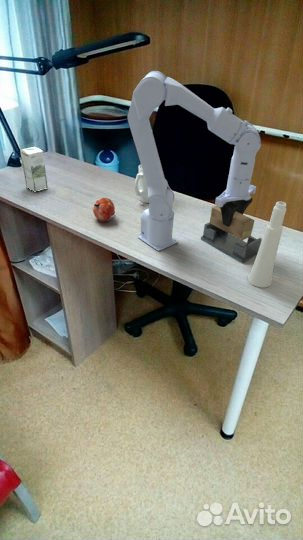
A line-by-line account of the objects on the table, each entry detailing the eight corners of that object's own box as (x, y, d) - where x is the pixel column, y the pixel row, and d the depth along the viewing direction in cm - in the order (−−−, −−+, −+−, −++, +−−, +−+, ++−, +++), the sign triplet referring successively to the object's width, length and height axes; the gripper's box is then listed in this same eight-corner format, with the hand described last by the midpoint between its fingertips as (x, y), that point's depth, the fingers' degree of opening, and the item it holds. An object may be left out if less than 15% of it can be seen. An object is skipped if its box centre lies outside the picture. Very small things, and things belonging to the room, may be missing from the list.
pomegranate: (105, 218, 120) (82, 207, 113) (117, 201, 118) (95, 188, 111) (114, 230, 115) (90, 219, 108) (127, 212, 113) (104, 200, 106)
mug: (146, 193, 132) (147, 161, 124) (160, 199, 128) (162, 166, 121) (127, 201, 125) (127, 169, 118) (142, 208, 122) (142, 174, 115)
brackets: (200, 239, 107) (202, 224, 104) (218, 230, 111) (221, 216, 108) (241, 263, 98) (245, 248, 95) (259, 253, 102) (263, 238, 99)
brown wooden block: (209, 222, 102) (212, 207, 99) (217, 219, 104) (220, 204, 101) (242, 240, 95) (246, 224, 92) (250, 236, 97) (254, 220, 94)
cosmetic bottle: (275, 279, 92) (299, 202, 79) (265, 291, 88) (289, 212, 75) (253, 270, 95) (273, 195, 82) (243, 281, 91) (263, 203, 78)
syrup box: (40, 184, 135) (33, 145, 126) (48, 189, 131) (43, 150, 123) (26, 188, 131) (19, 149, 122) (35, 193, 128) (28, 153, 119)
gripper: (234, 188, 84) (225, 236, 92) (269, 174, 92) (258, 220, 100) (212, 178, 88) (205, 226, 96) (247, 166, 96) (238, 211, 104)
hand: (231, 222), depth 98 cm, fingers closed on brown wooden block, 4 cm apart
